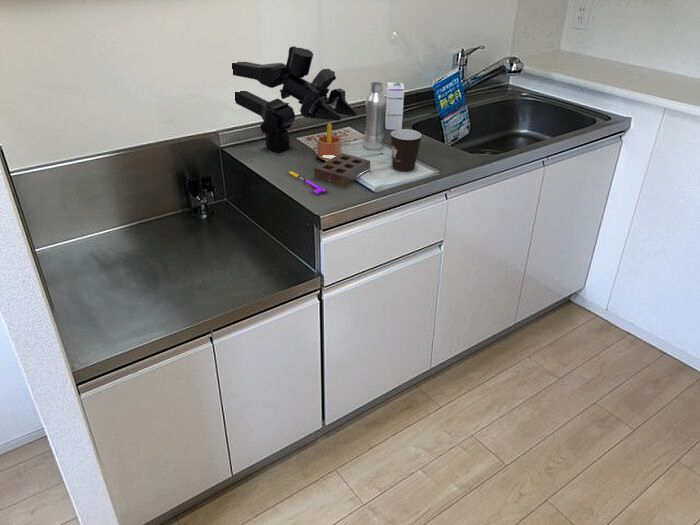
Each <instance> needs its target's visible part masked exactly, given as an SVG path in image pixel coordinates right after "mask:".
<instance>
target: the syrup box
mask: <svg viewBox="0 0 700 525" xmlns="http://www.w3.org/2000/svg"><path fill="white" fill-rule="evenodd" d="M385 98H386V108H385V113H384V127H385V130H391V131H394V130H399V129H403V117H404V101H405V100H404V99H405V85H404V82H399V81H393V82H386V95H385Z"/></svg>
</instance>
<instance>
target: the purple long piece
mask: <svg viewBox="0 0 700 525" xmlns="http://www.w3.org/2000/svg"><path fill="white" fill-rule="evenodd" d="M288 174H290V175H291V176H293V177H294V178H296V179H298V178H299V179H300V180H302V181H303V182H304V183H305V184H307V185H308V186H311V187H312V188H314V190H312V193H313V194H315V195H320V194H324V193H326V192H327V190H326V188H324V187H323V186H321V185H318V184H316V183H314V182H312V181H311V180H309V179H306V178H303V177H301V175H300V174H298V173H296V172H295V171H292V170H291V171H288Z"/></svg>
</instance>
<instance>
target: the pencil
mask: <svg viewBox="0 0 700 525" xmlns="http://www.w3.org/2000/svg"><path fill="white" fill-rule="evenodd" d="M326 135H327V143H332V135H333V125H332V122H330V121H329V122H328V123H327V125H326Z"/></svg>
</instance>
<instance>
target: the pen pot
mask: <svg viewBox="0 0 700 525" xmlns="http://www.w3.org/2000/svg"><path fill="white" fill-rule="evenodd" d="M341 153H342V138H341V137H340V136H337V135H333V134H332V143H327V134H326V135H321V136H319V137H317V157H318V158H319V159H321V160H326V161H328V160H330V159H329V158H323V157H321V156H323V155H334V156H338V155H340V154H341Z"/></svg>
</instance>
